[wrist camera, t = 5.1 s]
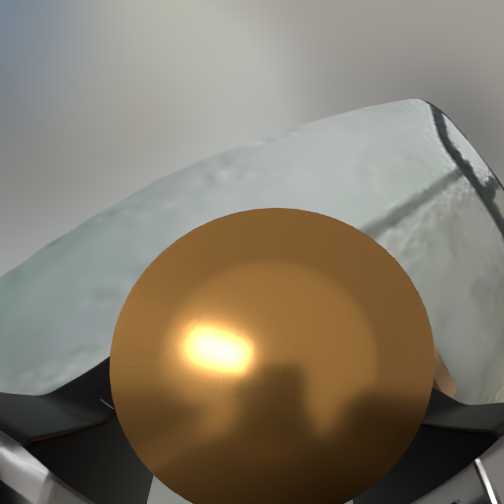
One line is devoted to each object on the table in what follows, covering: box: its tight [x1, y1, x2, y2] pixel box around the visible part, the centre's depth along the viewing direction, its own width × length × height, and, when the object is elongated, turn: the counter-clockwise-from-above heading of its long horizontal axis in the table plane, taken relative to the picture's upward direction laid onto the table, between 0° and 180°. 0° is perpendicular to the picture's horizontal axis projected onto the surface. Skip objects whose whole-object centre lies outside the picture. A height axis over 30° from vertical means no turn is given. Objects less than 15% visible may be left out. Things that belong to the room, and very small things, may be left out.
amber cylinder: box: [110, 208, 435, 504], centre depth 9 cm, size 5×5×13 cm
